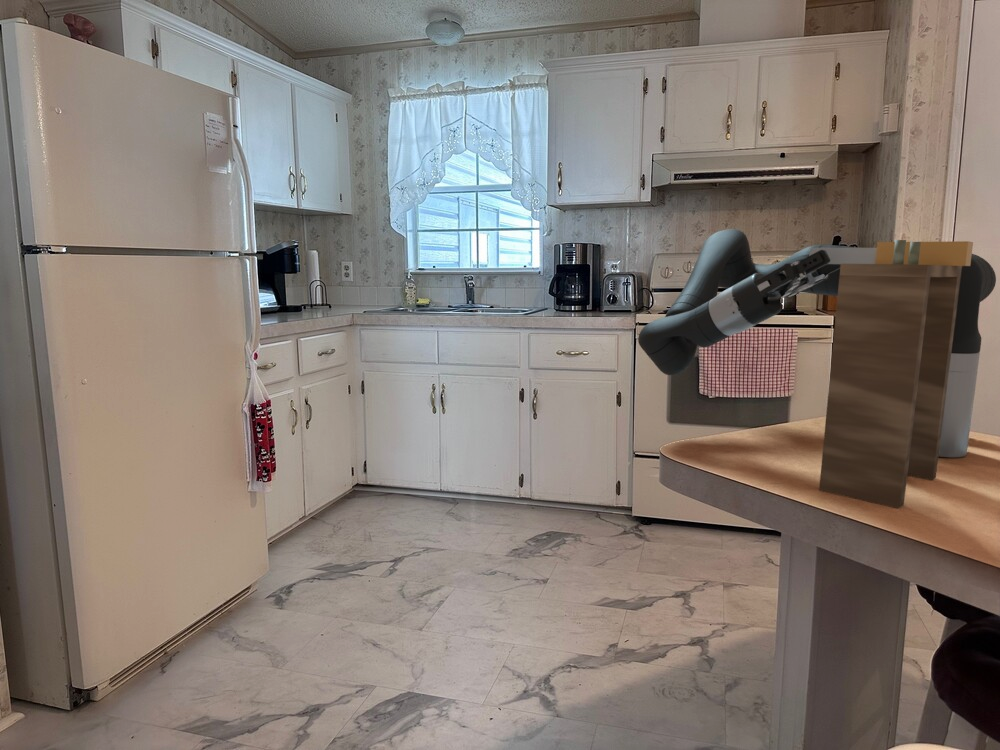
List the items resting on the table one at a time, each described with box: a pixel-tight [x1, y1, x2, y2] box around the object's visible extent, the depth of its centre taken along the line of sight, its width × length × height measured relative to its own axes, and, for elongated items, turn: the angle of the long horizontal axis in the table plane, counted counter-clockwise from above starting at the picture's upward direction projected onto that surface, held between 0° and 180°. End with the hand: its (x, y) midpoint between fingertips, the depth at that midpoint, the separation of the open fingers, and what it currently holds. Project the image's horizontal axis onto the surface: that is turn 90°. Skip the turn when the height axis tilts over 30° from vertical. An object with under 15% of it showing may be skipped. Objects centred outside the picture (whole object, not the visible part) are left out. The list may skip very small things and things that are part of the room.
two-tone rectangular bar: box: [809, 240, 974, 266], centre depth 100 cm, size 3×20×3 cm, turn 46°
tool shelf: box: [818, 239, 962, 510], centre depth 96 cm, size 19×10×34 cm, turn 136°
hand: (837, 255), depth 104 cm, fingers open, 8 cm apart
